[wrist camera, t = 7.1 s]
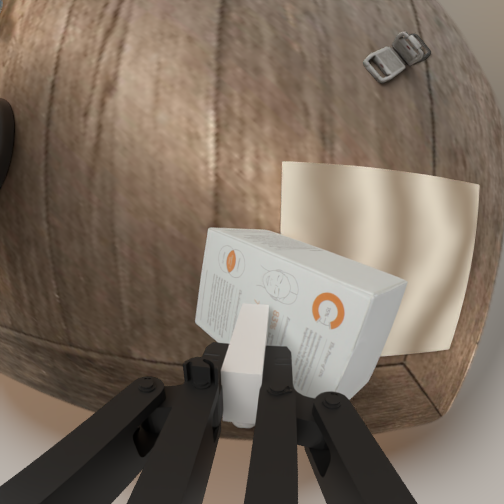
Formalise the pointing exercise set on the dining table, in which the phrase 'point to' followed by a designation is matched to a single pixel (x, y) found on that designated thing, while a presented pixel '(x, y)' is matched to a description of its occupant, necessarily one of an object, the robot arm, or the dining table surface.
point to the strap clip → (397, 56)
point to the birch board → (391, 237)
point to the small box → (301, 304)
